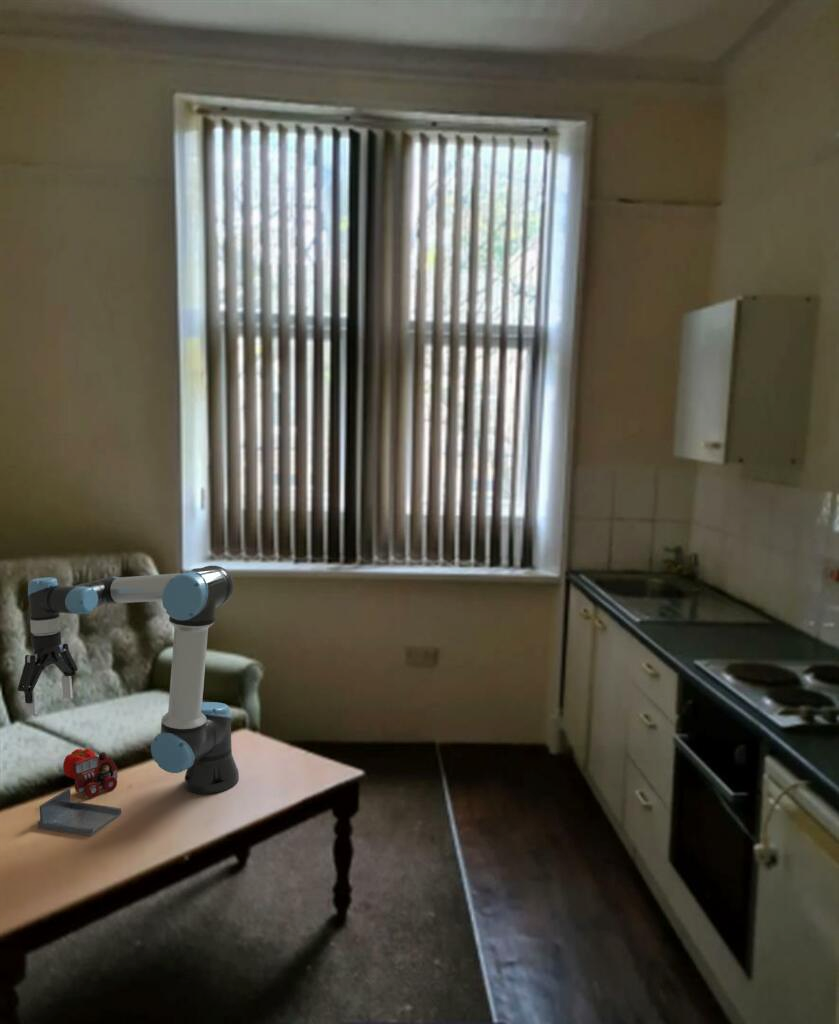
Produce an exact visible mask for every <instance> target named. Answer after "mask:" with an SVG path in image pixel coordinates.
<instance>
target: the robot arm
mask: <svg viewBox="0 0 839 1024" xmlns="http://www.w3.org/2000/svg"><path fill="white" fill-rule="evenodd" d="M234 590H235V583H234V579H233V577H232V574H231V573H230V572H229V571H228V570H227V569H226V568H224V567H222V566H220V565H206V566H204V567H200V568H199V567H197V568H192V569H191V570H187V571H184V572H178V573H165V574H163V573H162V574H152V575H150V574H149V575H139V576H138V575H137V576H122V577H121V576H120V577H118V576H108V577H107V576H106V577H102V578H100V579H97V580H92V581H88V582H84V583H79V584H76V585H70V586H69V585H68V586H67V585H64V586H63V585H59V583H58V579H57V578H55V577H48V576H47V577H37V578H34V579H30V580H29V582H28V583H27V598H28V611H29V619H30V621H29V623H30V633H31V635H30V639H31V648H32V649H33V651H34V653H33V654H25V656H24V665H23V669H22V672H21V676H20V679H19V683H18V687H17V691H18V692H23V694H24V703H25V704H26V713H27V715H38V703H37V701H38V700H37V690H34V689H35V687H36V685H37V683H38V681H39V679H40V676H41V675H42V673H43V670H45V669H46V667H49V666H50V665H55V667H57V669H58V670H60V672H61V673H62V674H64V675H62V676H61V681H62V682H61V683H62V684H61V686H62V698H63V699H73V698H74V697H73V684H74V681H73V680H74V679H73V676H75V675H76V673H77V671H78V665H77V664H76V662H75V659H74V658H73V656H72V654H71V652H70V649H69V644H68V643H62V635H61V634H62V633H61V620H60V619H61V617H60V616H61V615H60V614H70V615H71V614H73V615H86V614H87V615H88V614H91V613H92V612H93V611H94V610H95V609H96V608H98V607H101V606H104V605H114V604H124V603H125V604H129V603H144V602H162V603H161V604H162V607H163V609H165V612H166V614H167V615H168V616H169V617H168V621H169V623H170V624H171V625H172V626H173V627H174V631H173V645H172V657H171V659H172V660H171V671H170V684H169V699H168V709H167V712H166V713H165V714H164V715H163V716H162V718H161V721H160V722H161V723H160V733H158V734H157V735H156V736H154V738H153V740H152V741H151V744H150V752H151V756H152V759H153V761H154V762H155V763H156V764H157V765H158V767H159V768H160V769H162V770H163V771H165V772H166V773H171V774H178V773H182V772H184V771H185V776H184V788H185V789H186V790H187V791H188V792H190V793H194V794H201V795H202V794H203V795H209V794H215V793H221V792H224V791H227V790H229V789H231V788H233V787H235V786H236V785H237V783H238V782H239V781H240V778H239V777H240V774H239V769H238V766H237V764H236V761H235V759H234V756H233V753H232V752H233V749H232V716H231V709H230V707H229V706H228V705H227V704H226V703H222V702H216V701H215V702H214V701H212V702H211V701H207V702H206V701H205V702H203V697H204V696H203V695H204V685H205V684H204V683H205V673H206V672H205V670H206V661H207V660H206V659H207V647H208V636H209V635H208V633H209V628H211V627H212V625H214V624H215V621H216V609H217V608H219V607H221V606H223V605H224V604H226V603H227V602H228V601H229V600H230V599H231V597H233V596H232V595H233V593H234Z"/></svg>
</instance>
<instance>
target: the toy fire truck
mask: <svg viewBox="0 0 839 1024" xmlns="http://www.w3.org/2000/svg"><path fill="white" fill-rule="evenodd" d="M72 767H73V772H74V773H75V779H74V790H75V792H76V793H77V794H78V793H79V794H83V795H84V796H85V797H86V798H87V799H93V798H95V797H97V796H98V794H99V793H100V790H101V788H102V790H103V791H105V792H108V793H109V792H112V791H114V790H115V789H116V787H117V785H118V780H117V779H118V767H117V765H116V763H115V762H114V761H113V759H112V758H111V757H110V756H108V755H107V753H106V752H104V751H102V752H100V753H99V755H98V756H97V755H96V756H92V757H89V758H86V759H83V760H80V761H77V762H74V763H73V766H72Z"/></svg>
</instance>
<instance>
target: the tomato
mask: <svg viewBox="0 0 839 1024" xmlns="http://www.w3.org/2000/svg"><path fill="white" fill-rule="evenodd" d="M92 756H97V755H96V753H95V752H94V751H93V750H92V749H90V748H84V749H82V748H77V749H75V750H73V751H72V752H70V754H67V755H66V756H65V758H64V760H63V763H62V764H63V765H62V769H63V773H64V775H65V776H66V777H67V778H69V779H73V780H75V773H74V772H73V767H72V766H73V763H74V762H77V761H80V760H83V759H86V758H89V757H92Z"/></svg>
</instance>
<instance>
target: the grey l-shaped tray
mask: <svg viewBox="0 0 839 1024" xmlns="http://www.w3.org/2000/svg"><path fill="white" fill-rule="evenodd" d="M38 807H39V820H38V821H37V828H38V830H44V831H45V830H46V831H51V832H58V833H63V834H64V833H65V834H70V835H76V836H77V835H78V836H83V837H93V836H94V835H95V834H96V833H98V832H100V831H101V830H102V829H104V828H105V827H106V826H108V825H109V824H111V823H112V822H113V821H116V819H117V818H119V817H121V816H122V808H121V807H115V806H108V805H107V806H106V805H101V804H94V803H87V802H86V803H85V802H80V801H73V800H72V797H71V788H67V789H65V790H63V791H61V792H60V793H58V794H57V795H55V796H53V797H52V798H50V799H49V800H47V801H45V802H44V803H41V804H40V805H39V806H38Z"/></svg>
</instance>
